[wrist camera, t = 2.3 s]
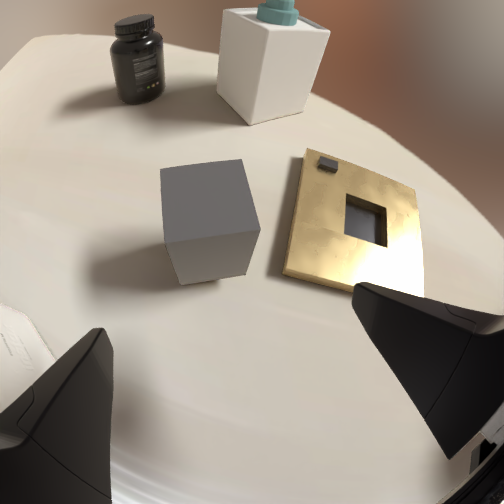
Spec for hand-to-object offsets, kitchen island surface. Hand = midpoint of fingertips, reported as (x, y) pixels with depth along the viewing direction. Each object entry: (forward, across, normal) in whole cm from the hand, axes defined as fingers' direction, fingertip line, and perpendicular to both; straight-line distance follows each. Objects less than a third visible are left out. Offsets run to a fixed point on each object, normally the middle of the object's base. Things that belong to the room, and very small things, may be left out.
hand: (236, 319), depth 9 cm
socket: (+14, -15, +3) cm, 21 cm away
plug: (+14, 0, +4) cm, 14 cm away
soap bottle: (+29, -9, -11) cm, 32 cm away
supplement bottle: (+32, +6, -15) cm, 36 cm away
